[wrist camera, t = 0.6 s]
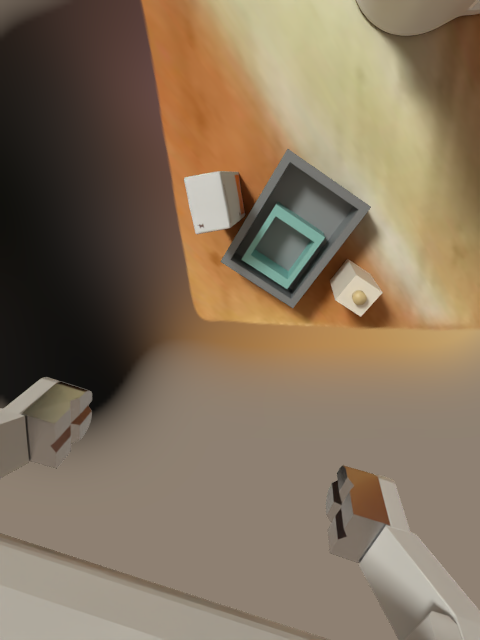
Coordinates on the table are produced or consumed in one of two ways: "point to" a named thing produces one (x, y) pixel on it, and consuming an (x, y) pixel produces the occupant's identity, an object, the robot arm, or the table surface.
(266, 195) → the organiser box
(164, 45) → the table surface
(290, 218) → the inlet socket
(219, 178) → the skincare box
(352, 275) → the plug
